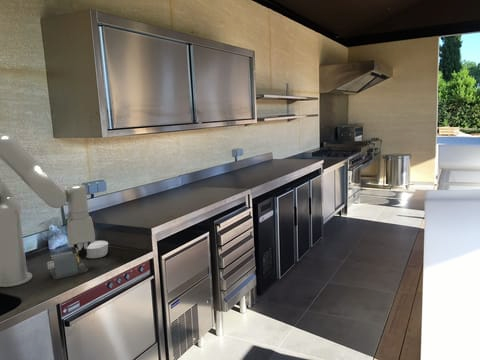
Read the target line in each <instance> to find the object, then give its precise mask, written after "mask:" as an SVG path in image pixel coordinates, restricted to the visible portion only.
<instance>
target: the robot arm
mask: <svg viewBox="0 0 480 360" xmlns="http://www.w3.org/2000/svg"><path fill="white" fill-rule="evenodd" d="M0 160H1V161H2V162H4V163H5V164H6V165H7V167H9V169H11V170H12V171H13V172H14V173H15V174H16V175H17V176H18V177H19V178H20V179H21V180H22V181H23V182H24V183H25V184H26V185H27V186H28V187H29V188H30V189H31V190H32V191H33V193H35V194H36V195H37V197H39V198H40V199H41V200H42V201H43V202H44V203H45V204H46V205H47V206H48V207H50V208H52V209H59V208H63V206H64V205H66V203H67V213H66V214H64V217H65V218H67V224H66V234H67V235H66V238H67V246H68V247H69V248H75V249H76V248H77V249H78V252H79V254H78V256H79V258H80V259H81V260H86V259H87V257H86V256H87V247H88V246H89V245H90V244H91V243H93V242H95V241H96V233H95V228H94V227H95V226H94V223H93V219H92V216H90V214H89V204H88V195H87V188H86V185H84V184H70V185H57V184H56V183H55V182H54V180H52V179H51V178H50V176H49V175H48V174H47V173H46V172H45V171H44V169H43V166H42V165H41V164H40V162H39V161H38V160H37V159H35V158H34V156H32V155H31V154H30V153H29V151H27V150H26V149H25V148H24V146H22V145H21V144H20V143H19V141H18V139H17V138H16V137H15V136H14V135H12V134H8V133H0ZM21 213H22V207H21V204H20V202H19V200H18V199H17V198H16V197H15V195H14V194H13V193H12V191H11V190H10V189H9V188H8V186H7V185H6V184H5V182H3V180H2V179H0V288H9V287H10V288H11V287H15V286H19V285H22V284H25V283H27V282H29V281H30V280H31V279H32V278H33V274H32V273H31V272H29V271H28V267H27V261H26V260H27V259H26V252H25V245H24V243H25V242H24V237H23V236H24V235H23V229H22V223H21ZM80 243H83V248H81V245H80Z"/></svg>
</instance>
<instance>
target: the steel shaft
mask: <svg viewBox="0 0 480 360" xmlns="http://www.w3.org/2000/svg"><path fill="white" fill-rule="evenodd" d="M73 254H74V255H75V256H76V258H77V266H78V265H80V263H81V262H80V257H79V254H78V253H76V252H75V253H73ZM46 264H47V269H48V270H52V269H53V268H55V267H54V261H51V260H50V261H47V263H46Z"/></svg>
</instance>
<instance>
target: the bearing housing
mask: <svg viewBox="0 0 480 360" xmlns="http://www.w3.org/2000/svg"><path fill="white" fill-rule="evenodd" d="M74 254H75V253H74V252H73V251H72V250H71V251H67V252H66V251H65V252H60V253H56V254H51V255H50V259H51V260H50V261H54V267H55V268H53V269H49V272H50V273H49V274H50V275H51V277H52V279H53V280H57V279H62V278H66V277H70V276H71V277H72V276H74V275H79V273H80V274H83V272H84V273H88V272H89V269H88V267H87V266H86V265H85V264H84V262H80V265H78V266H77V258H76V256H75V255H74ZM87 271H88V272H87Z"/></svg>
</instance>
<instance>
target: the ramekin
mask: <svg viewBox="0 0 480 360" xmlns="http://www.w3.org/2000/svg"><path fill="white" fill-rule="evenodd" d="M82 248H83V246H82ZM108 249H109V242H108V241H106V240H95V242H93V243H91V244H90V245H89V246H88V247H87V256H86V259H87V258H88V259H91V260H92V259H101V258H103V257H105V256H106V255H107V254H108V251H109V250H108Z"/></svg>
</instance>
